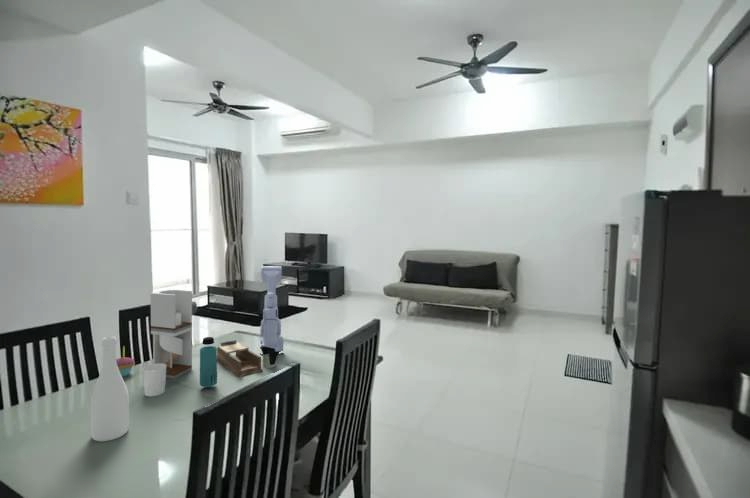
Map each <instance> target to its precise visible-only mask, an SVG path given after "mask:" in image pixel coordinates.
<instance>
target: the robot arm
mask: <svg viewBox="0 0 750 498" xmlns="http://www.w3.org/2000/svg"><path fill="white" fill-rule="evenodd" d="M282 273H283V267H282V266H281V265H266V266H265V265H262V266H261V273H260V274H261V276H260V277H261V282H262V283H263V284H265V285H266V290H267V291H266V294H265V295H264V302H263V303H264V308H263V310H262V319H261V321H260V336H261V337H262V339H260V345H261V346H260V347H259V349H260V350H261V352H262V353H261V352H260V351H259V354H260V353H261V354H260V355H262V354H263V355H265V354H269V359H270V365H273V364H275V362H276V358H277V359H278V356H279V355H278V354H279V352H281V351H283V352H284V338H283V336H282V335H281V334H282V325H281V324H282V323H281V322H282V320H281V319H280V318H279V308H278V295H277V293H276V292H277V290H276V289H277V286H278V284H280V283H281V281H282V276H283V274H282ZM263 355H262V356H263Z"/></svg>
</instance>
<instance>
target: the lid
mask: <svg viewBox="0 0 750 498" xmlns="http://www.w3.org/2000/svg"><path fill="white" fill-rule="evenodd" d="M217 348H219V349H221V350H222V351H224V352H225V353H227V354H233V353H236V352H239V351H243V350H250V349H249V348H250V347H249V346H247V345H245V344H243V343H241V342H240V341H237V340H236V339H231V340H227V341H226V340H225V341H220V345H217Z"/></svg>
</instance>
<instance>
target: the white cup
mask: <svg viewBox="0 0 750 498" xmlns="http://www.w3.org/2000/svg"><path fill="white" fill-rule="evenodd" d="M166 380H167V378H166V364H162V363H157V364H153V363H150V364H148V365H144V366H143V367H142V383H143V390H144V396H147V397H157V396H160V395H162V394H164V393H165V391H166Z"/></svg>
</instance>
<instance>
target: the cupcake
mask: <svg viewBox="0 0 750 498" xmlns="http://www.w3.org/2000/svg"><path fill="white" fill-rule="evenodd" d="M125 348H126V347H125V346H123V347H122V357H118V358H116V363H117V367H118V369H119V371H120V374H121V376H122V377H126V376H129V375H130V374H131V371H132V368H133V367H134V366H135V365H136V362H135V359H133V358H132V357H126V353H125V351H126V350H125Z"/></svg>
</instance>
